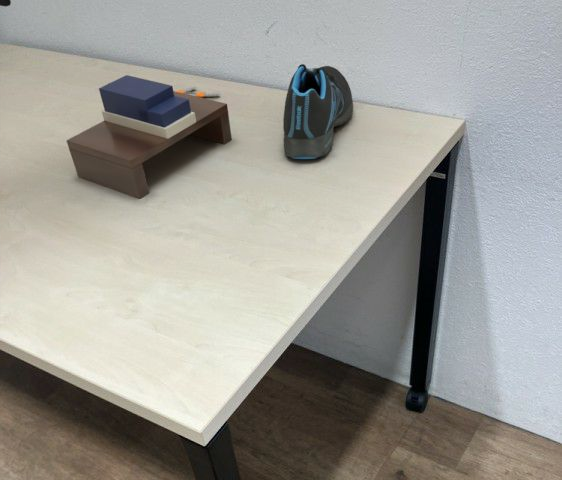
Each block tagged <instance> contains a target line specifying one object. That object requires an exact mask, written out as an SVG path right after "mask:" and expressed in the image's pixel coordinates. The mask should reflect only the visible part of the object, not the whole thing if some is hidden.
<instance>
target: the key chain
mask: <svg viewBox="0 0 562 480" xmlns="http://www.w3.org/2000/svg"><path fill="white" fill-rule="evenodd" d="M196 89H197V87H196V86H191V87H188V88H185V89H179V90H176V91H175V92H179V93H184V94H188V95H194V96H196V97H200V98H204V97H209V96H210V97H214V96H216V97H217V96H220V95H221V92H206V91H199V92H192V91H194V90H196ZM190 91H191V92H190Z"/></svg>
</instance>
